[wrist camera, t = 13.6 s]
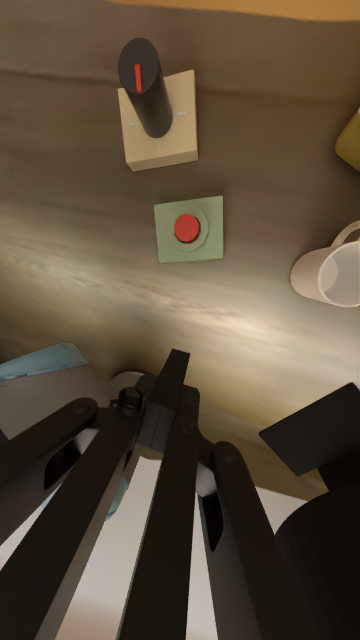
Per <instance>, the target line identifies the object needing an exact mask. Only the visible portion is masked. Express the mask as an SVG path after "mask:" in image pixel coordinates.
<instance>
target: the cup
mask: <svg viewBox="0 0 360 640" xmlns="http://www.w3.org/2000/svg"><path fill="white" fill-rule="evenodd" d="M359 228H360V220H359V221H356V222H354V223H352V224H350V225H349V226H347V227H346V228H345V229H343V230H342V231H341V232H340V233H339V235H338V236H337V237H336V239H335V240H334V242H333V243H332V245H331V246H330V247H327V248H323V249H318V250H314V251H311V252H309V253H307V254H305V255H303V256H302V257H300V258H299V259H298V260H297V261H296V263H295V264H294V266H293V268H292V270H291V275H290V280H291V284H292V287H293V288H294V290H295V291H296V292H297V293H299V294H300V295H302V296H304V297H307V298H311V299H314V300H318V301H322V302H326V303H329V304H333V305H337V306H341V307H355V306H359V305H360V237H359V239H358V240H357V241H355V242H350V243H346V244H342V243H343V241H344V240H345V238H346V237H347V236H348V235H349V234H350V233H351V232H352V231H354V230H356V229H359Z"/></svg>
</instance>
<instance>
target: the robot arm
mask: <svg viewBox="0 0 360 640" xmlns="http://www.w3.org/2000/svg"><path fill="white" fill-rule="evenodd" d="M189 357H190V353H186V352H183V351H180V350H176V349H172V351H171V353H170V355H169V357H168V359H167V361H166V363H165V365H164V367H163V369H162V371H161V373H160V375H159V377H156V376H153V375H150V374H149V373H146V372H144V371H140V370H126V371H123V372H121V373H119V374H118V375H116V376H115V377H114V378H113V379H112V380H111V382H110V383H109V385H108V386H107V388H106V391H104V390H103V388H102V386H101V385H100V383H99V382H98V380H97V378H96V377H95V375H94V374H93V372H92V370H91V369H90V367H89V365H88V364H89V363H88V361H86V360H85V359H84V357H83V356H82V355H81V353H80V352H79V350H78V349H77V348H76V347H75V346H74V345H72V344H70V343H61V344H57V345H54V346H51V347H48V348H45V349H42V350H39V351H36V352H33V353H30V354H27V355H24V356H21V357H19V358H16V359H13V360H11V361H8V362H5V363H3V364H0V546H1V544H2V543H4V541H6V539H8V537H9V536H10V535H11V534H12V533H13V532H14V531H15V530H16V529H17V528H18V527H19V526H20V525H21V524H22V523H23V522H24V521H25V520H26V519H27V518H28V517H29V516H30V515H31V514H32V513H33V512H34V511H35V510H36V509H37V508H38V507H39V506H40V505H41V506H42V507H43V508H44V509H43V511H42V512H41V514H40V515H39V517H38V518H37V519H36V521H35V522H34V524H33V525H32V526H31V528H30V529H29V531H28V532H27V534H26V535H25V536H24V538H23V539H22V541H21V542H20V544H19V545H18V546H17V548H16V549H15V551H14V552H13V553H12V555H11V556H10V558H9V559H8V561H7V562H6V564H5V565H4V566H3V568H2V569H1V571H0V640H55V638H56V636H57V633H58V631H59V628H60V626H61V624H62V621H63V619H64V616H65V614H66V612H67V609H68V607H69V604H70V602H71V600H72V597H73V595H74V593H75V590H76V588H77V586H78V583H79V581H80V579H81V576H82V574H83V571H84V569H85V567H86V564H87V562H88V559H89V557H90V555H91V552H92V550H93V547H94V545H95V543H96V540H97V538H98V536H99V533H100V531H101V529H102V526H103V524H104V522H105V521H106V520H108V519H109V518H110V517H111V516H112V515H113V514H114V513H115V512H116V510H117V508H118V506H119V504H120V502H121V500H122V498H123V496H124V494H125V492H126V490H127V489H128V487H129V483H130V481H131V478H132V476H133V473H134V470H135V468H136V465H137V462H138V460H139V457H140V455H141V452H142V449H143V447H147V448H150V449H152V450H155V451H158V452H161V453H164V455H163V459H162V462H161V466H160V470H159V473H158V478H157V481H156V485H155V489H154V493H153V497H152V501H151V505H150V509H149V513H148V516H147V520H146V524H145V528H144V532H143V536H142V540H141V543H140V547H139V551H138V555H137V559H136V563H135V567H134V571H133V575H132V578H131V582H130V586H129V590H128V594H127V598H126V602H125V606H124V609H123V613H122V617H121V621H120V625H119V629H118V633H117V636H116V640H186V627H187V611H188V596H189V581H190V567H191V551H192V537H193V522H194V507H195V492H196V493H198V502H199V510H200V517H201V524H202V531H203V538H204V545H205V552H206V558H207V565H208V572H209V579H210V586H211V593H212V600H213V607H214V614H215V621H216V628H217V635H218V640H317V639H316V636H315V634H314V631H313V629H312V626H311V624H310V621H309V619H308V616H307V614H306V611H305V609H304V607H303V604H302V602H301V599H300V597H299V594H298V592H297V589H296V587H295V584H294V582H293V579H292V577H291V574H290V572H289V570H288V567H287V565H286V562H285V560H284V557H283V555H282V552H281V550H280V547H279V545H278V542H277V540H276V538H275V535H274V533H273V530H272V528H271V525H270V523H269V521H268V518H267V515H266V513H265V510H264V508H263V505H262V503H261V501H260V498H259V496H258V493H257V491H256V488H255V486H254V483H253V481H252V478H251V476H250V473H249V471H248V468H247V466H246V464H245V461H244V459H243V456H242V454H241V453H240V451H239V450H238V449H237V448H236V447H235V446H234V445H232V444H231V443H229V442H226V441H219V442H217V443H215V444H214V443H212V442H210V441H209V440H208V439H206V438H205V437H204V436H203V435H202V434H201V432H200V431H199V427H198V415H199V402H200V393H199V391H198V389H197V388H194V387H191V386H188V385H184V384H183V382H184V378H185V374H186V370H187V366H188V362H189Z"/></svg>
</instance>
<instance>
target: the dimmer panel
mask: <svg viewBox="0 0 360 640" xmlns="http://www.w3.org/2000/svg"><path fill="white" fill-rule="evenodd" d="M163 78H164V81H165V85H166V89H167V93H168V97H169V101H170V105H171V109H172V113H173V121H172V125H171V127H170V129H169V131H168V132H167V133H166V134H165V135H164V136H163V137H160V138H152V137H150V136H149V135H147V133H146V132H145V130H144V129H143V126H142V124H141V122H140V120H139V118H138V116H137V114H136V112H135V110H134V108H133V106H132V104H131V102H130V100H129V98H128V96H127V94H126V91H125V89H124V88H120V89H118V95H119V104H120V112H121V121H122V130H123V139H124V148H125V157H126V163H127V165H128V166H129V167H130V168H131V170H132V171H133V172H135V171H140V170H146V169H152V168H158V167H163V166H169V165H175V164H181V163H186V162H192V161H198V138H197V111H196V87H195V76H194V70H189V71H185V72H182V73H178V74H174V75H170V76H166V77H163Z"/></svg>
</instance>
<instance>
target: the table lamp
mask: <svg viewBox="0 0 360 640" xmlns="http://www.w3.org/2000/svg"><path fill="white" fill-rule="evenodd" d="M259 436H260V437H261V438H262V439H263V440H264V441H265V442H266V443H267V444H268V446H269V447H270V448H271V449H272V450H273V451H274V452H275V453H276V454H277V455H278V456H279V457H280V459H281V460H282V461H283V462H284V463H285V464H286V465H287V466H288V467H289V468H290V469H291V470H292V472H293V473H294V474H295V475H296V476H300V475H302V474H305V473H307V472H309V471H312V470H314V469H316V468H318V471H319V473H320V475H321V477H322V479H323V481H324V482H325V484H326V486H327V488H328V490H329V492H327V493H325V494H322V495H320V496H318V497H316V498H314V499H312V500H310V501H309V502H307V503H305V504H304V505H302V506H301V507H299V508H298V509H297V510H295V511H294V512H293V513H292V514H291V515H290V516H289V517H287V519H286V520H285V521H284V522H283V523H282V524H281V526H280V527H279V529H278V530H277V532H276V534H275V538H276V540H277V542H278V545H279V547H280V550H281V552H282V555H283V557H284V560H285V562H286V565H287V567H288V570H289V572H290V574H291V577H292V579H293V582H294V584H295V587H296V589H297V592H298V594H299V597H300V599H301V602H302V604H303V607H304V609H305V611H306V614H307V616H308V619H309V621H310V624H311V626H312V629H313V631H314V634H315V636H316V639H317V640H360V391H359V389H358V388H357V387H356V386H355V385H354V384H353V383H349V384H348V385H346V386H344V387H342V388H340V389H338V390H337V391H335V392H333V393H331V394H329V395H327V396H326V397H324V398H322V399H320V400H318V401H316V402H315V403H313V404H311V405H309V406H307V407H305V408H304V409H302V410H300V411H298V412H296V413H294V414H293V415H291V416H289V417H287V418H285V419H283V420H282V421H280V422H278V423H276V424H274V425H272V426H271V427H269V428H267V429H265V430H263V431H261V432H260V433H259Z"/></svg>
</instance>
